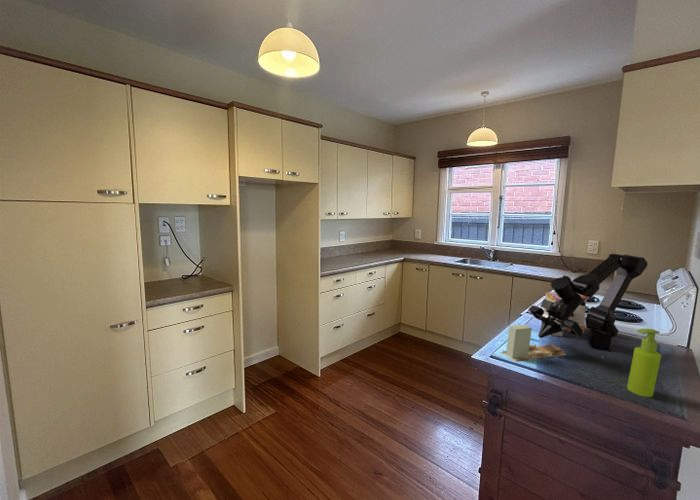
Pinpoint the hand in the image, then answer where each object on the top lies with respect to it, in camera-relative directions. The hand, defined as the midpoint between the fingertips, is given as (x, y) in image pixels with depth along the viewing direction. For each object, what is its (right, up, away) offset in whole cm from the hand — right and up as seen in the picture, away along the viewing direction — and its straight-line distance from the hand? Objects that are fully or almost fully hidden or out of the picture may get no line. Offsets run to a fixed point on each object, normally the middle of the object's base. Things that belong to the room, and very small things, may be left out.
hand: (539, 336), depth 116 cm
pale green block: (-9, -6, -2) cm, 11 cm away
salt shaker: (+31, -4, +25) cm, 40 cm away
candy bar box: (+20, -4, +24) cm, 31 cm away
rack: (-2, -7, +1) cm, 7 cm away
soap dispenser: (+18, -11, -20) cm, 29 cm away
